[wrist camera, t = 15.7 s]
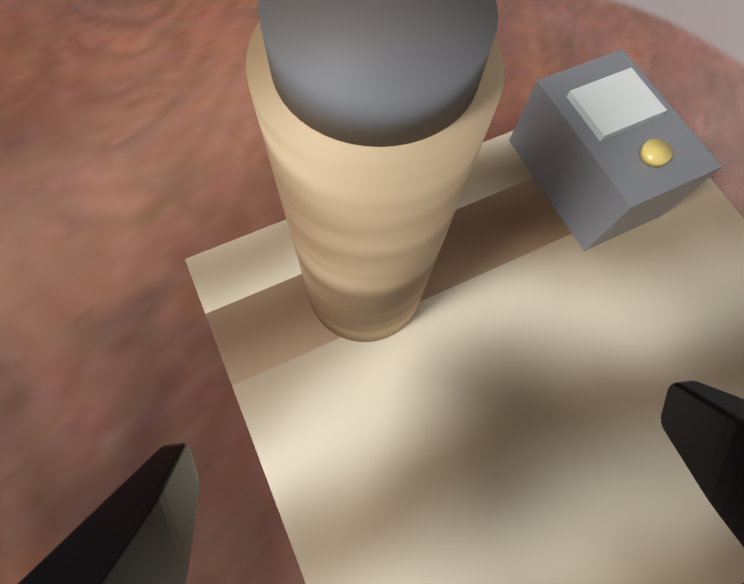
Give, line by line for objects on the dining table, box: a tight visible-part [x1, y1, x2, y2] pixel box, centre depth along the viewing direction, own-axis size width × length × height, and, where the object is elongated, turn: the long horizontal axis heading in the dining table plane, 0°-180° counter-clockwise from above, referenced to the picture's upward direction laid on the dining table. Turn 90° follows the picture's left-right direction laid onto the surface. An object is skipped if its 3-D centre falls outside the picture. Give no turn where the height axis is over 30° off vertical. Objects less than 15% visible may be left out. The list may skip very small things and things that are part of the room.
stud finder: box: [509, 49, 722, 251], centre depth 19 cm, size 6×4×4 cm, turn 25°
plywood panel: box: [185, 131, 744, 584], centre depth 18 cm, size 18×22×1 cm
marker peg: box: [246, 0, 505, 342], centre depth 13 cm, size 4×4×12 cm
